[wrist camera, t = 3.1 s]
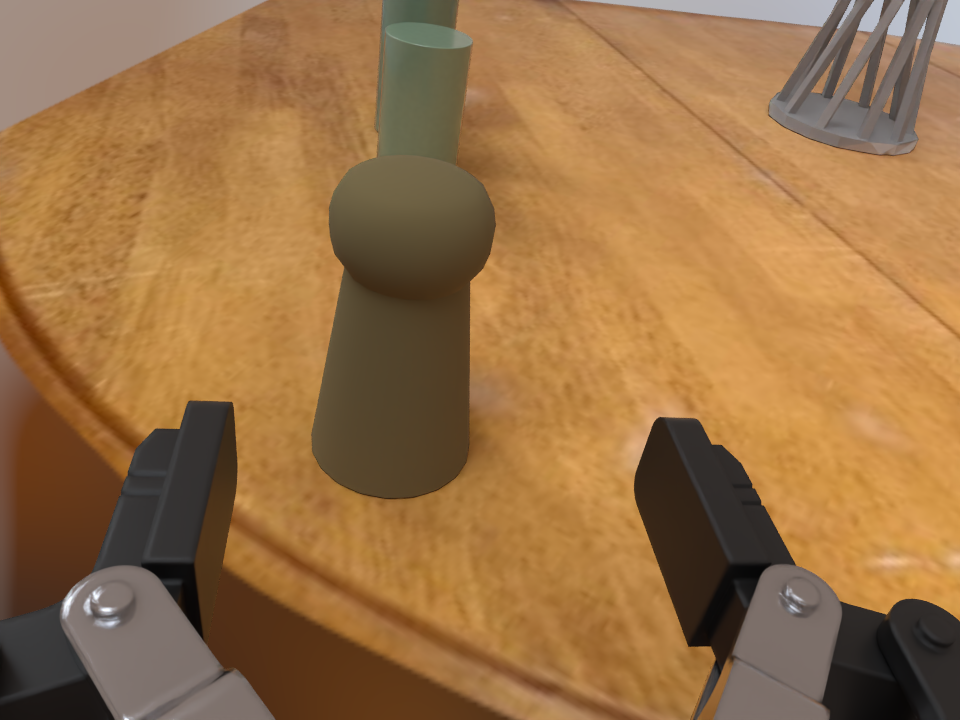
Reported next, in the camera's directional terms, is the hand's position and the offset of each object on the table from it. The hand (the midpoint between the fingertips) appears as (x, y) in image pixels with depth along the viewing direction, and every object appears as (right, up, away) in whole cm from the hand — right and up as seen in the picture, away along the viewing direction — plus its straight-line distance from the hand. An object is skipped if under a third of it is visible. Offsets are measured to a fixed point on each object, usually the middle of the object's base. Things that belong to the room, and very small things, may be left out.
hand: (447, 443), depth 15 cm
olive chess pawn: (-3, -2, +15) cm, 15 cm away
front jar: (-3, +13, +34) cm, 37 cm away
